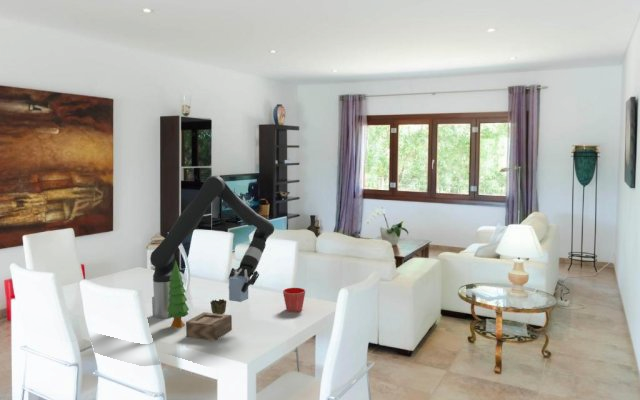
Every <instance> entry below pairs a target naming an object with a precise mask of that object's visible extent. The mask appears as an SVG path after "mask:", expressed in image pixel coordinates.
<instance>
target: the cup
mask: <svg viewBox="0 0 640 400" xmlns="http://www.w3.org/2000/svg"><path fill="white" fill-rule="evenodd" d="M226 309H227V300H225V299H223V298H222V299H221V298H219V299H218V300H217V299H212V300H210V310H211V313H215V314H225V312H226V311H227V310H226Z"/></svg>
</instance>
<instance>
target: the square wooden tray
mask: <svg viewBox="0 0 640 400" xmlns="http://www.w3.org/2000/svg"><path fill="white" fill-rule="evenodd" d="M232 320H233V319H232V315H231V314H225V313H224V314H215V313H212V312H201V313H199V314H198V315H196V316H194V317H192V318H190V319H189V320H186V321H185V329H186V330H185V332H186V338H192V339H193V338H194V339H200V340H201V339H202V340H208V339H209V340H210V341H217V340H219V339H220V338H222V337H223V336H225V335H226V334H228V333H229V332H231V331H232V330H233V328H232V327H233V322H232ZM221 336H222V337H221ZM218 338H219V339H218ZM209 340H208V341H209Z"/></svg>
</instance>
